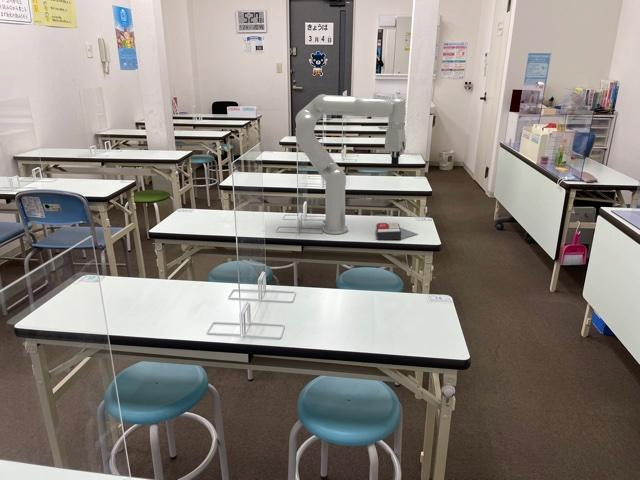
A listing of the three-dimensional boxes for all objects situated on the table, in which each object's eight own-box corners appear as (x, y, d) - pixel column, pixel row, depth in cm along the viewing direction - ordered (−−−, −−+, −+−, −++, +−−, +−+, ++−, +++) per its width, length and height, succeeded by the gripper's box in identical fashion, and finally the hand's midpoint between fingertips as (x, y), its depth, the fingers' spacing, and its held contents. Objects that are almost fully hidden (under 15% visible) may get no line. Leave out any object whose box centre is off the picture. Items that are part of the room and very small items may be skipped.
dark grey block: (398, 221, 233) (401, 230, 218) (398, 230, 234) (401, 239, 220) (376, 222, 234) (376, 231, 219) (376, 230, 235) (377, 239, 221)
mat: (383, 232, 230) (383, 232, 230) (400, 228, 236) (400, 227, 236) (401, 239, 221) (401, 238, 221) (417, 234, 227) (417, 233, 227)
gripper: (379, 125, 227) (378, 163, 233) (401, 128, 215) (399, 168, 221) (391, 124, 230) (390, 161, 237) (413, 127, 219) (411, 166, 225)
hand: (394, 165), depth 229 cm, fingers closed
